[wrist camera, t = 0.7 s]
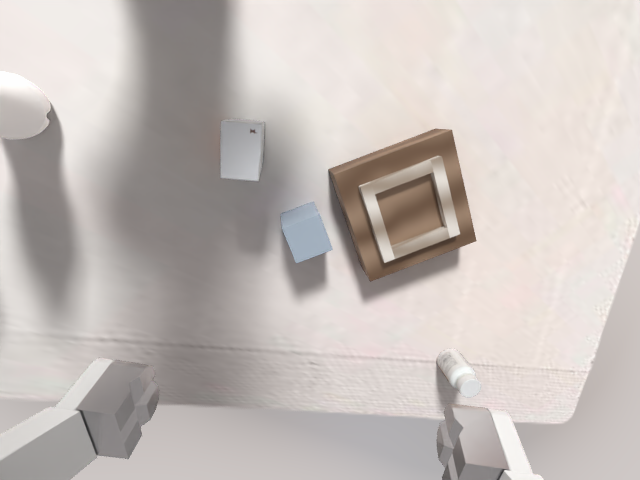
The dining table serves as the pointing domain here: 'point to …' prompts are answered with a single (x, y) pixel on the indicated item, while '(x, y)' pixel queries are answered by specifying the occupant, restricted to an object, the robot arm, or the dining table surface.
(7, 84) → the water bottle
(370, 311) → the dining table surface
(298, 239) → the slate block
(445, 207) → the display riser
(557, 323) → the dining table surface
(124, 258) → the dining table surface
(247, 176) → the skincare box
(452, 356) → the pill bottle
